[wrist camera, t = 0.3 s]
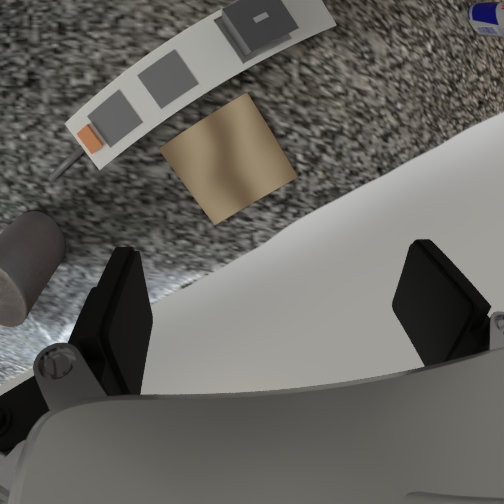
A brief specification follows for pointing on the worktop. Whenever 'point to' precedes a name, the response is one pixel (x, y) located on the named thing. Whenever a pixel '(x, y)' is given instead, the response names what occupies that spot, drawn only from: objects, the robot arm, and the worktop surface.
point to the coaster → (229, 159)
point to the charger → (257, 23)
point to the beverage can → (487, 18)
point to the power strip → (174, 81)
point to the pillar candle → (27, 263)
